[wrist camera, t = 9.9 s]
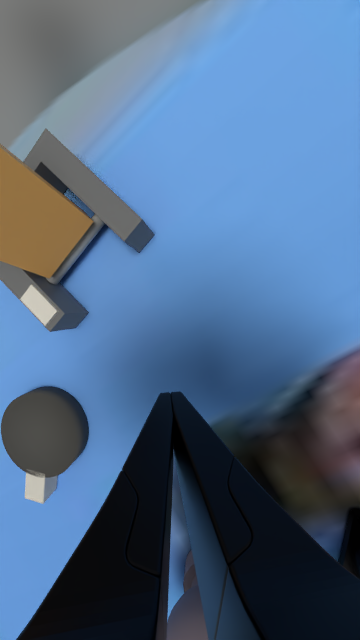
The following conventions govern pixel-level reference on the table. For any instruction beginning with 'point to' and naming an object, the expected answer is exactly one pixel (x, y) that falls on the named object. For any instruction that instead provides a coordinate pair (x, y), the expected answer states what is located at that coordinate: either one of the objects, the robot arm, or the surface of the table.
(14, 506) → the table surface
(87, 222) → the block
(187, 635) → the cat figurine
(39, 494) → the ping pong paddle
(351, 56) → the table surface
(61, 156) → the breaker housing
